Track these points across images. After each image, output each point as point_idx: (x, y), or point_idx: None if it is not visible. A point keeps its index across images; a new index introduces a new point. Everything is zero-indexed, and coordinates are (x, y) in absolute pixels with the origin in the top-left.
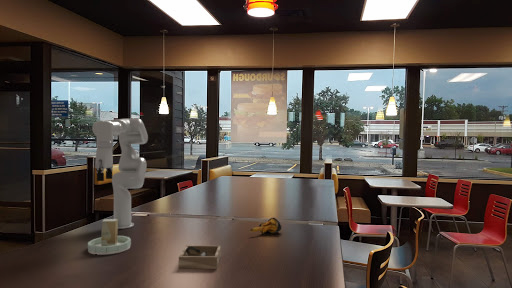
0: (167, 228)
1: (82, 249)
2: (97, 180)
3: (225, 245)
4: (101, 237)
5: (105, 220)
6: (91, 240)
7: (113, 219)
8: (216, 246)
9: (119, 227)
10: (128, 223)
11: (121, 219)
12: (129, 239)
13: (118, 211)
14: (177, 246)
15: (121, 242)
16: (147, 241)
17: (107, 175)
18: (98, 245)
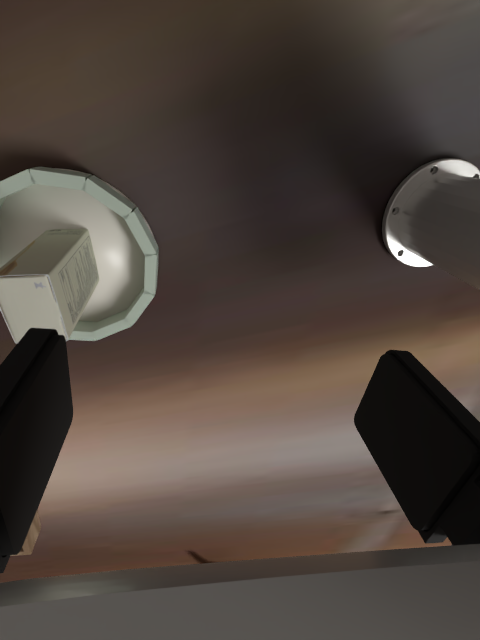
0: (334, 385)
1: (48, 133)
2: (31, 337)
3: (128, 524)
4: (29, 244)
5: (9, 292)
6: (67, 176)
7: (47, 325)
8: (23, 548)
9: (386, 215)
10: (411, 252)
11: (418, 231)
12: (98, 334)
13: (453, 226)
14: (115, 443)
15: (130, 289)
16: (172, 360)
17: (403, 411)
18: (80, 206)
